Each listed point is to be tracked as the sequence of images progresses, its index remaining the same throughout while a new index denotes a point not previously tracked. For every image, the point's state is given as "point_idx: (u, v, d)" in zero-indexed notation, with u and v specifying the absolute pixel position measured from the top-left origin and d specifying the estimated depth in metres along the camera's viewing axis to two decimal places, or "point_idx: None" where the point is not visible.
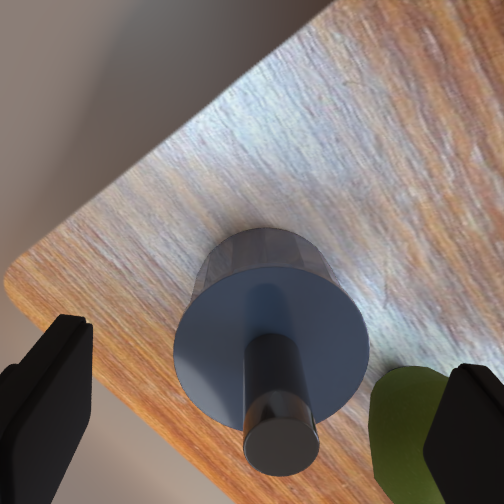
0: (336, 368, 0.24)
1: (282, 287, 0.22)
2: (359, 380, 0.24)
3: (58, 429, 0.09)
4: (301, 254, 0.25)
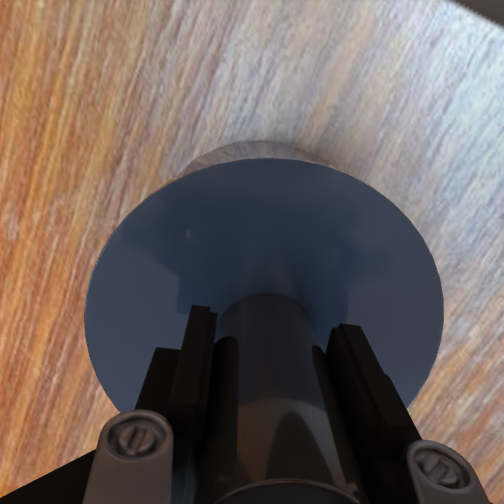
0: None
1: (400, 286, 0.12)
2: None
3: None
4: None
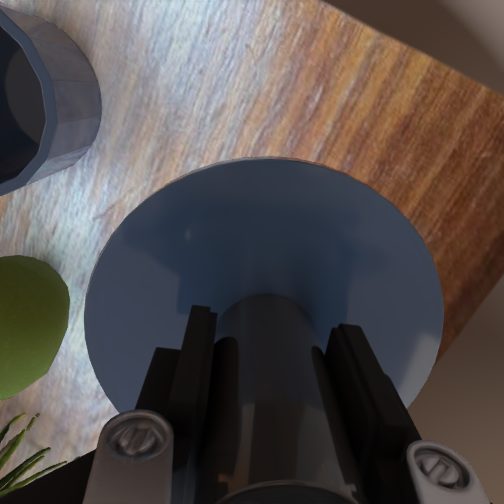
0: None
1: (400, 287, 0.12)
2: None
3: None
4: (74, 84, 0.24)
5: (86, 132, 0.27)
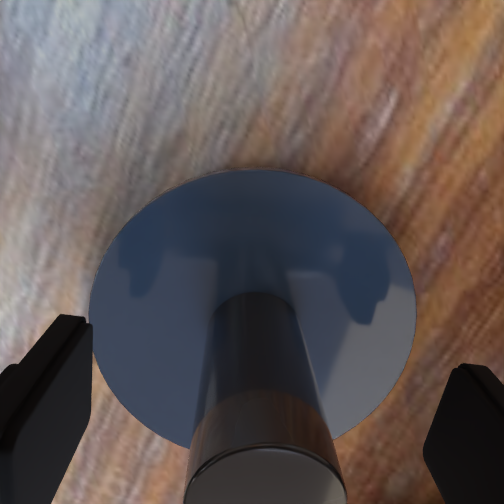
0: None
1: (376, 284, 0.14)
2: None
3: (58, 429, 0.09)
4: None
5: None
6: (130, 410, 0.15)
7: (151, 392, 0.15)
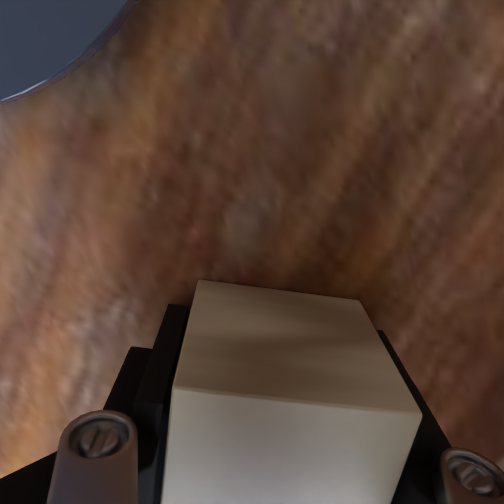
0: None
1: None
2: None
3: None
4: None
5: None
6: None
7: None
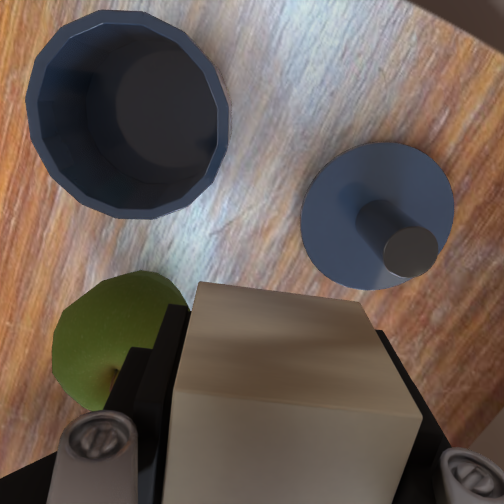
0: None
1: (436, 197, 0.30)
2: (384, 287, 0.32)
3: None
4: (230, 107, 0.24)
5: None
6: (312, 260, 0.31)
7: (324, 250, 0.31)
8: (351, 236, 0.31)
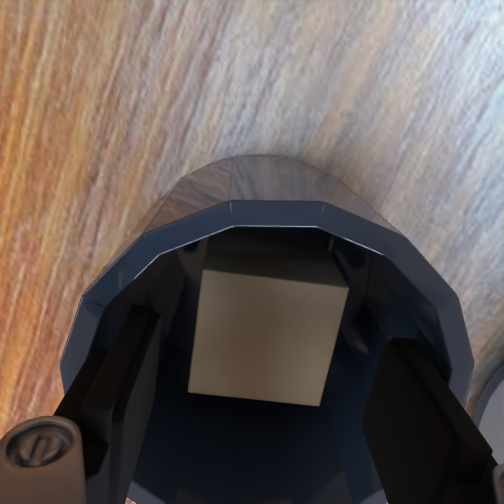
0: None
1: None
2: None
3: (141, 406, 0.09)
4: None
5: None
6: None
7: None
8: None
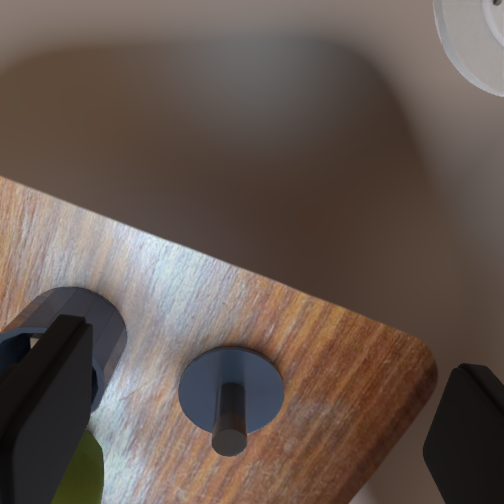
0: None
1: (269, 380, 0.44)
2: None
3: (58, 429, 0.09)
4: (113, 351, 0.38)
5: (118, 363, 0.41)
6: (190, 419, 0.45)
7: (197, 413, 0.45)
8: (214, 404, 0.44)
